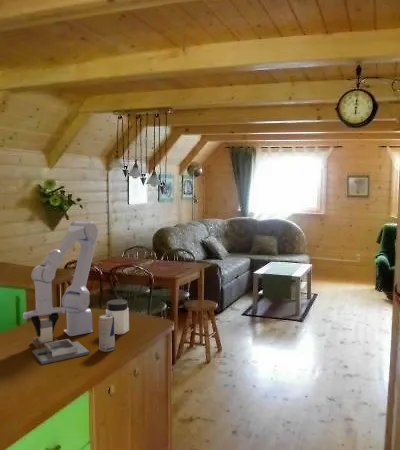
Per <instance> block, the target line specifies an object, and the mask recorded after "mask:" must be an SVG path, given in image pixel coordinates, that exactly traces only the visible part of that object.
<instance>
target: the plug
mask: <svg viewBox="0 0 400 450" xmlns="http://www.w3.org/2000/svg"><path fill="white" fill-rule="evenodd" d="M39 319H40V337H38V336H37V337H38V342H39V343H44V342H49V341H53V336H54V332H52V321H51V320H50V319H49V317H46V318H39Z"/></svg>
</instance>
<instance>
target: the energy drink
mask: <svg viewBox="0 0 400 450" xmlns="http://www.w3.org/2000/svg"><path fill="white" fill-rule="evenodd" d="M115 341H116V340H115V335H114V317H113V315H110V314H106V313H105V314H101V315H99V317H98V342H99V347H98V348H99V350H100V351H101V352H104V353H105V352H106V353H107V352H112V351H114V350H115V348H116V346H115V343H116V342H115Z"/></svg>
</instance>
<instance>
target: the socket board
mask: <svg viewBox="0 0 400 450" xmlns="http://www.w3.org/2000/svg"><path fill="white" fill-rule="evenodd" d="M32 354H33V355H34V357H35V358H36V359H37V360H38V361H39V362H40V364H41V365H45V364H49V363H55V362H60V361H63V360H68V359H73V358H79V357H82V356H87V355H90V351H89V350H88V349H87V348H86V347H84V346H83V344H81V343H80V342H79V341H71V340H70V339H69V338H66V339H61V340H58V341H55V342H50V343H44V348H41V349H37V348H35V349H32Z"/></svg>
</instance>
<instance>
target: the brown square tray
mask: <svg viewBox="0 0 400 450" xmlns="http://www.w3.org/2000/svg"><path fill="white" fill-rule="evenodd" d="M31 341H32V345H33V346H34V347H35V349H41V348H44V343H50V342H55V341H59V339H58V338H57V337H55V335H53V341H49V342H44V343H39V342H38V336H35V337H32V340H31Z"/></svg>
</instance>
